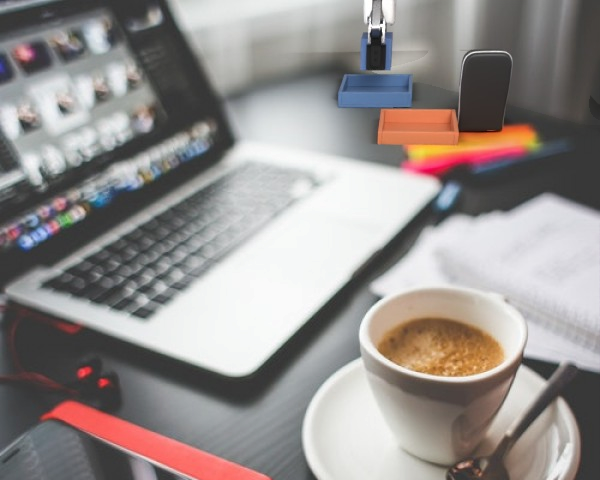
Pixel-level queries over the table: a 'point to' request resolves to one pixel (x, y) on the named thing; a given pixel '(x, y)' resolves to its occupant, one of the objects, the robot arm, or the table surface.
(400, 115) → the orange tray
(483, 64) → the battery charger
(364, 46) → the blue block
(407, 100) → the blue tray
